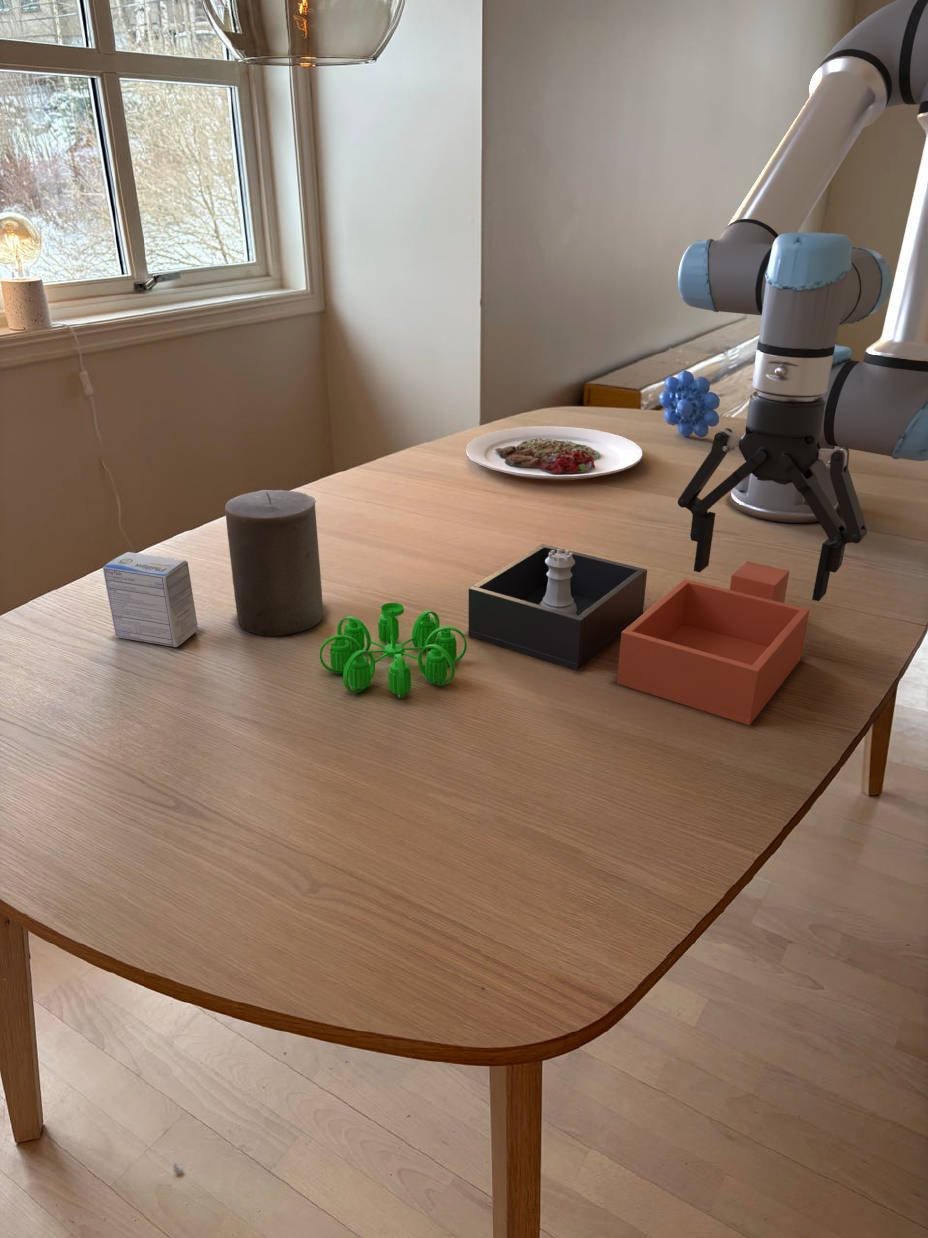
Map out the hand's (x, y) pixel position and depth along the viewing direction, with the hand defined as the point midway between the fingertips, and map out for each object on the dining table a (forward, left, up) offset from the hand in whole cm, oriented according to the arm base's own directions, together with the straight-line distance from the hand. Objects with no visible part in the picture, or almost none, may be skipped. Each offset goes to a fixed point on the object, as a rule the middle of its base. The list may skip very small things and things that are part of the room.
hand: (758, 582), depth 108 cm
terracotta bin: (+16, +1, -4) cm, 16 cm away
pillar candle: (+32, -44, -4) cm, 54 cm away
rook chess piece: (+16, -17, -3) cm, 23 cm away
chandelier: (+34, -26, -4) cm, 43 cm away
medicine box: (+43, -52, -4) cm, 67 cm away
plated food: (-39, -49, -4) cm, 63 cm away
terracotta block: (0, 0, -4) cm, 4 cm away
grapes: (-65, -36, -4) cm, 75 cm away
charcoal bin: (+16, -17, -4) cm, 23 cm away
